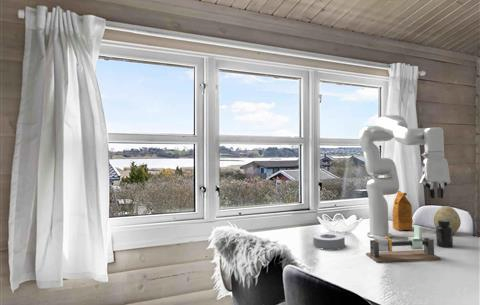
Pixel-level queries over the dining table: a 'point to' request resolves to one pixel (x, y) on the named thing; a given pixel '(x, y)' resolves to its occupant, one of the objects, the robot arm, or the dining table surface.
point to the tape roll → (329, 240)
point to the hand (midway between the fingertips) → (436, 197)
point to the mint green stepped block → (416, 238)
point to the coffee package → (402, 213)
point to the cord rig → (400, 256)
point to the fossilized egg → (448, 217)
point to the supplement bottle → (444, 234)
